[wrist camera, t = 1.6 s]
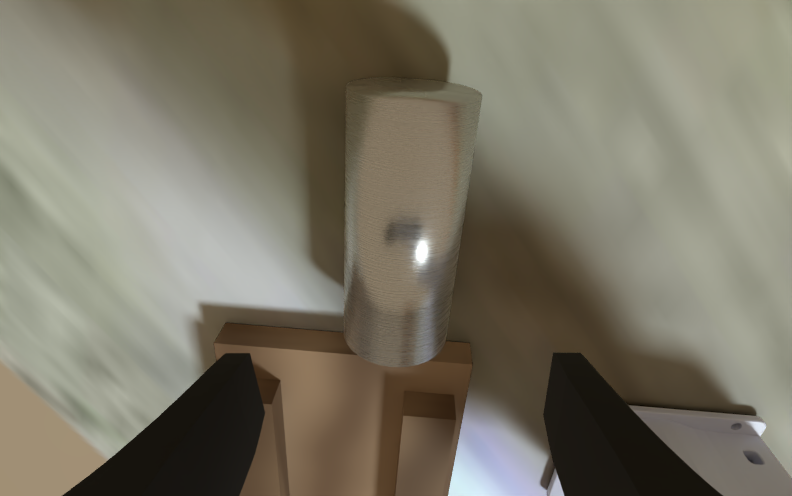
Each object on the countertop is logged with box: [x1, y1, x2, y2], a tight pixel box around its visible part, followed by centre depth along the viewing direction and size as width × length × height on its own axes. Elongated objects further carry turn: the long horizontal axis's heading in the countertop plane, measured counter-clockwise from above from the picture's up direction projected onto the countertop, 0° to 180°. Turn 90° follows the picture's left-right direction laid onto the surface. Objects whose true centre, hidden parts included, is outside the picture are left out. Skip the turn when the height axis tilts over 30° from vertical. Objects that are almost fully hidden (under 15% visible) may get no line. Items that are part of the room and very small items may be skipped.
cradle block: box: [214, 323, 473, 496], centre depth 26 cm, size 12×18×3 cm, turn 176°
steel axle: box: [344, 77, 482, 367], centre depth 17 cm, size 4×10×4 cm
